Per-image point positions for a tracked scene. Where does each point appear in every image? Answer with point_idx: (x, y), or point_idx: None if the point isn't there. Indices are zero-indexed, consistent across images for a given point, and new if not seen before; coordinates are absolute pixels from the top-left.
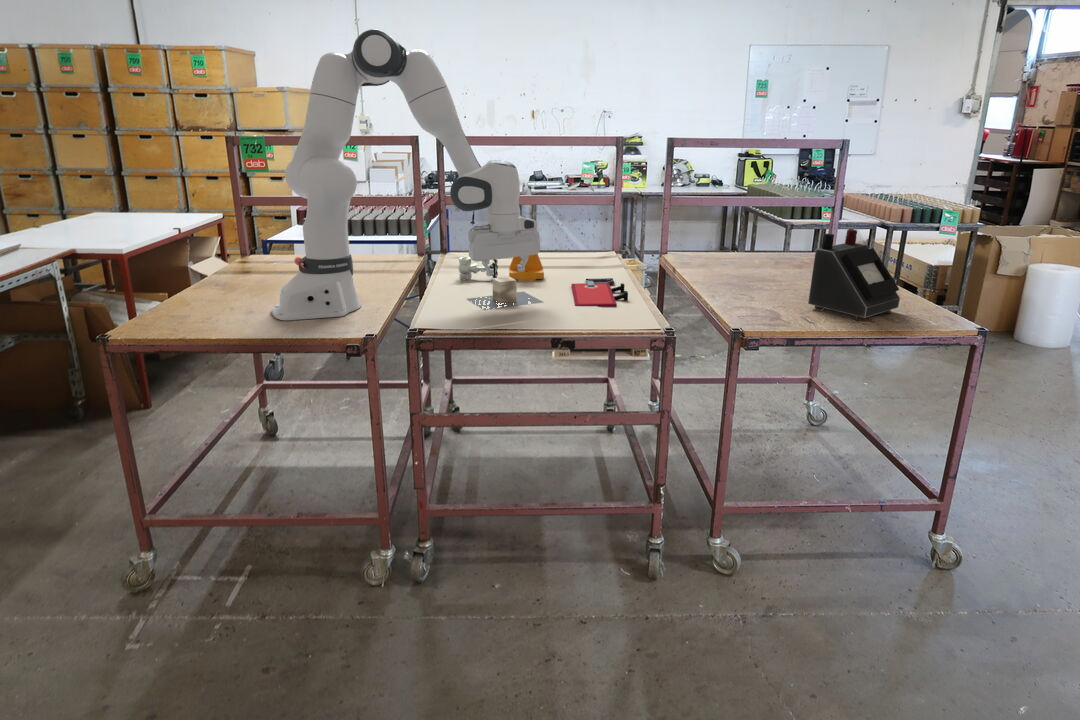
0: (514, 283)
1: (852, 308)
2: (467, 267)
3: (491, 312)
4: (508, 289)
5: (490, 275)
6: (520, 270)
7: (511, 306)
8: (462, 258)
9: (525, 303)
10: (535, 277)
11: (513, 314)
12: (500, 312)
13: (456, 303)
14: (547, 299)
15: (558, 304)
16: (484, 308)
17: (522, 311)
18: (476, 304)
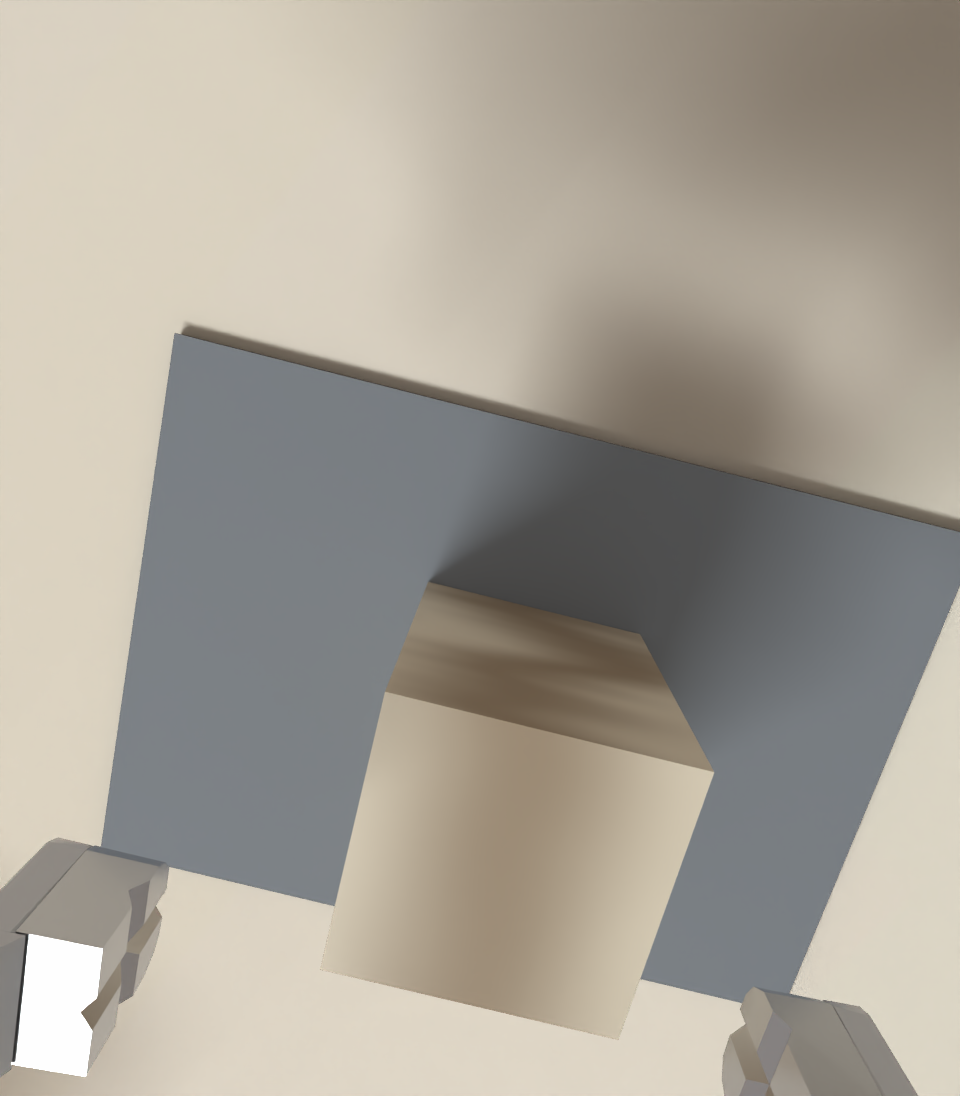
0: (432, 676)
1: None
2: None
3: (953, 426)
4: (537, 670)
5: (828, 1002)
6: (144, 873)
7: (622, 448)
8: None
9: (400, 442)
10: None
11: (826, 163)
12: (876, 353)
13: (955, 954)
14: (50, 436)
15: (67, 149)
16: (918, 590)
17: (645, 200)
18: (861, 776)
